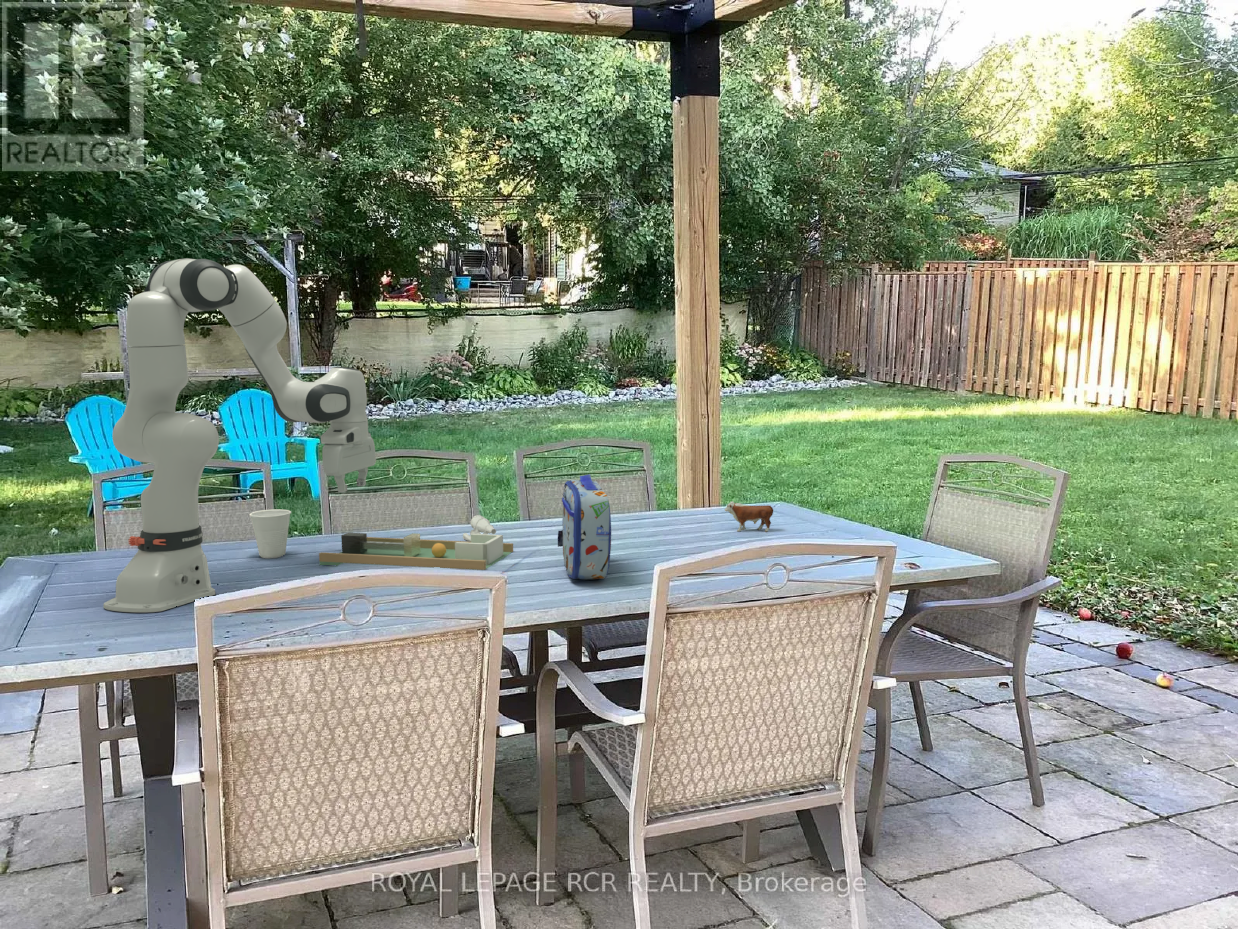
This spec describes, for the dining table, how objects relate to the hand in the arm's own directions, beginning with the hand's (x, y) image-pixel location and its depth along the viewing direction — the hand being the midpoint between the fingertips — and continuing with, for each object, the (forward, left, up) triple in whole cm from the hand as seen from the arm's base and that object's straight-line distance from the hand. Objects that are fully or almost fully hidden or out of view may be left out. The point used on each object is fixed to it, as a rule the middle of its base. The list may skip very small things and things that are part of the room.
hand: (352, 489), depth 247 cm
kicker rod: (0, -7, -16) cm, 17 cm away
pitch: (0, -17, -17) cm, 24 cm away
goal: (0, -33, -17) cm, 37 cm away
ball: (0, -22, -16) cm, 28 cm away
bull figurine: (+53, -92, -17) cm, 108 cm away
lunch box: (-3, -60, -17) cm, 63 cm away
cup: (-3, +21, -17) cm, 27 cm away
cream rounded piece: (+21, -25, -18) cm, 37 cm away
